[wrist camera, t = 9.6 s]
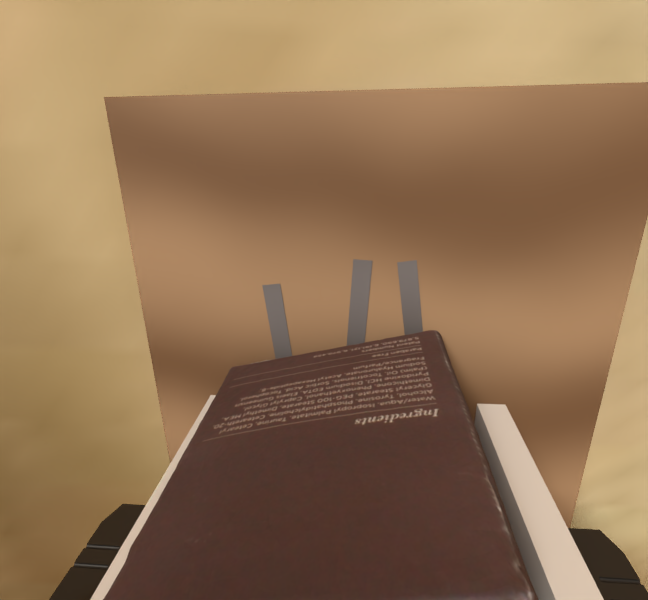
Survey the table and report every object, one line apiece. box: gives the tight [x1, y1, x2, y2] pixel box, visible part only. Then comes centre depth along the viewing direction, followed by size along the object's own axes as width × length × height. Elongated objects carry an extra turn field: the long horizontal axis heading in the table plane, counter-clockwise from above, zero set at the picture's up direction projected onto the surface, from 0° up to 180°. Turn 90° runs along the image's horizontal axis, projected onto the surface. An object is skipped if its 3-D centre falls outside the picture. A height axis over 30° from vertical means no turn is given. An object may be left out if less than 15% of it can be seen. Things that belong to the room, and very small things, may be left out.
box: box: [103, 330, 538, 600], centre depth 10 cm, size 6×6×7 cm
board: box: [104, 82, 648, 528], centre depth 14 cm, size 16×13×2 cm
